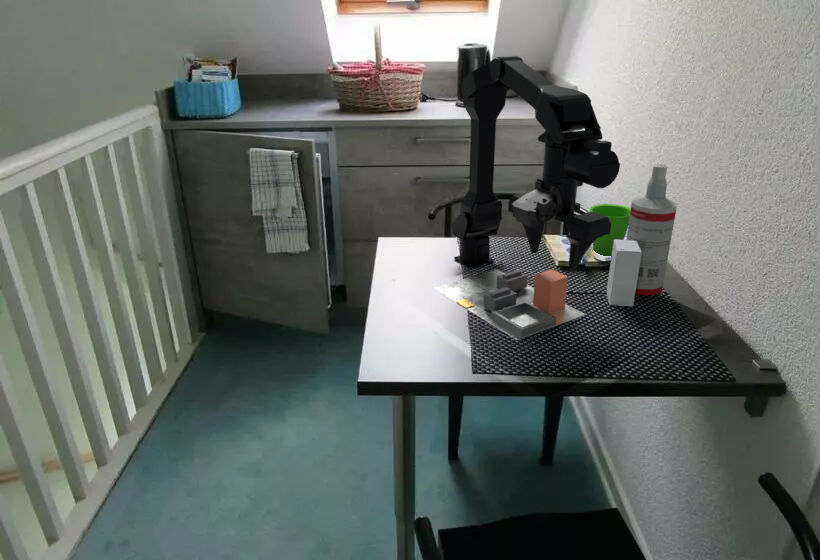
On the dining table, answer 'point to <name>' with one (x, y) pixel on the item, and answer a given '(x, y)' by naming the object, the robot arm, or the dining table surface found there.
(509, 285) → the toggle
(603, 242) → the cup
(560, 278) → the orange-red rectangular block
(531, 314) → the panel
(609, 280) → the skincare box
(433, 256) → the dining table surface
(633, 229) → the spray bottle
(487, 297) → the toggle
